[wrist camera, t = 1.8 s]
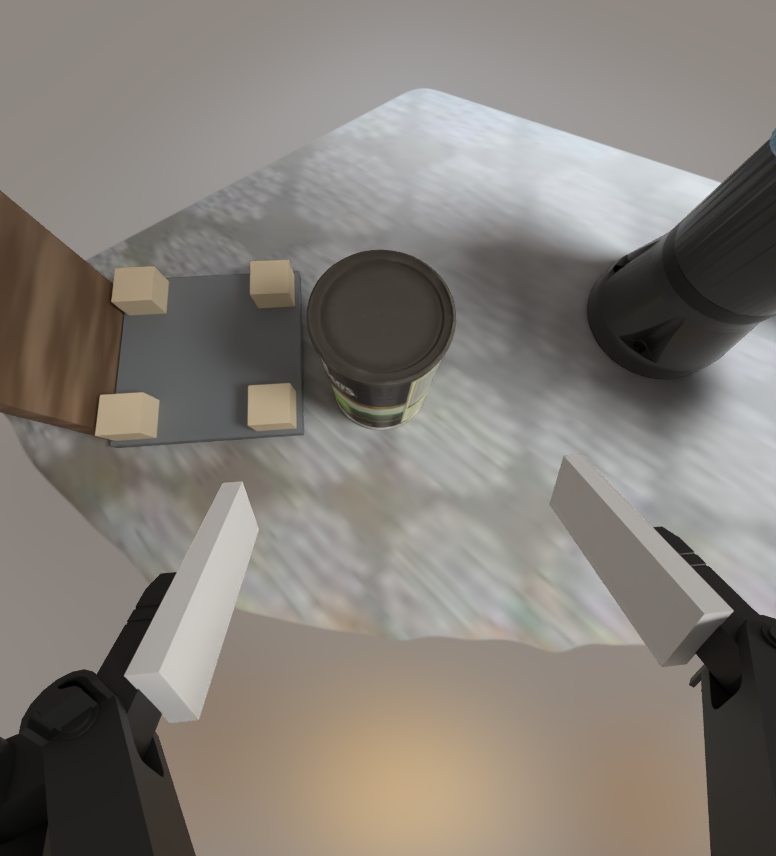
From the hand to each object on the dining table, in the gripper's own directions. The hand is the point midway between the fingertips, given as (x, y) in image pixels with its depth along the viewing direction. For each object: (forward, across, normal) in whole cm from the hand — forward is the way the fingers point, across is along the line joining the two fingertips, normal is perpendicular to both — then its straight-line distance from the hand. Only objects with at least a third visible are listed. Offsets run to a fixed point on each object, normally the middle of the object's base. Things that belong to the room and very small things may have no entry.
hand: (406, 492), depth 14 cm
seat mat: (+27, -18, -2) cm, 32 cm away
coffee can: (+23, 0, -6) cm, 24 cm away
